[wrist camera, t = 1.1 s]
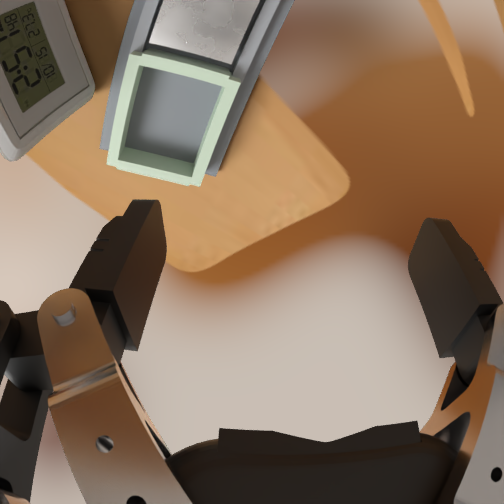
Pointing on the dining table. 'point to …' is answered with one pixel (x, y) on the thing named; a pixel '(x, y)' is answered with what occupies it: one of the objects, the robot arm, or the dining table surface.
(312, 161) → the dining table surface
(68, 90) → the digital clock
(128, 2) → the dining table surface
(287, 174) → the dining table surface
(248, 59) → the grey green docking tray
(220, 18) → the cradle plate
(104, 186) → the dining table surface
